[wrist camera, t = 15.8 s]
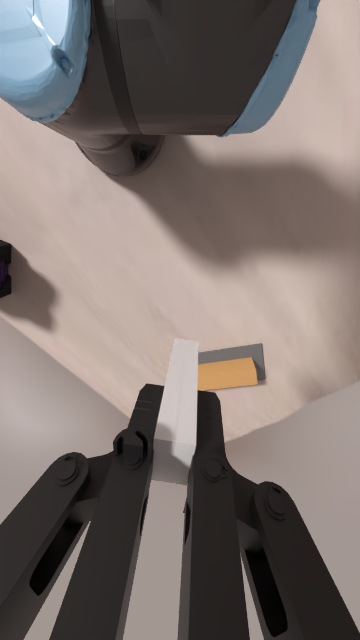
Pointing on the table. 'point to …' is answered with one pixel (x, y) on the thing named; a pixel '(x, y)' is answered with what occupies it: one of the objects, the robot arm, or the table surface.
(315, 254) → the table surface
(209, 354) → the mat
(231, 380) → the tall block
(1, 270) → the energy cube
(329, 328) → the table surface
